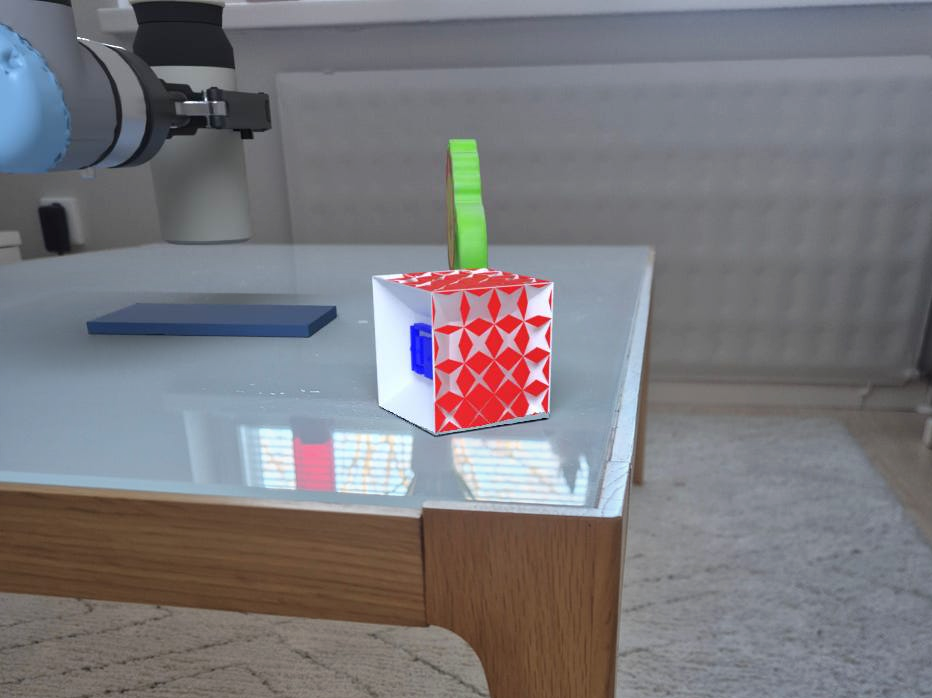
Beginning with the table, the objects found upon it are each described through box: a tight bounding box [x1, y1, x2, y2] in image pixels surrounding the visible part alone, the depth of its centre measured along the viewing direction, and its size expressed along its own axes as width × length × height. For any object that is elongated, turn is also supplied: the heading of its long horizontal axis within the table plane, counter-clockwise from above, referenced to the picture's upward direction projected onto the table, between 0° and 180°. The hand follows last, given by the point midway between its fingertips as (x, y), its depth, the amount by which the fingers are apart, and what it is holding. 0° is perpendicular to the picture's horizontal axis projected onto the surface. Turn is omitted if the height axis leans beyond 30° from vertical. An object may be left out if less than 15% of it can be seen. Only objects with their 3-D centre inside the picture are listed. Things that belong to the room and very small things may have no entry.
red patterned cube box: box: [371, 267, 555, 433], centre depth 57 cm, size 8×8×8 cm
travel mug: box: [128, 0, 254, 246], centre depth 80 cm, size 8×8×18 cm
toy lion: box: [444, 138, 489, 271], centre depth 75 cm, size 16×5×15 cm, turn 5°
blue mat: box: [85, 302, 338, 338], centre depth 87 cm, size 20×11×1 cm, turn 85°
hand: (211, 115), depth 83 cm, fingers closed on travel mug, 8 cm apart
